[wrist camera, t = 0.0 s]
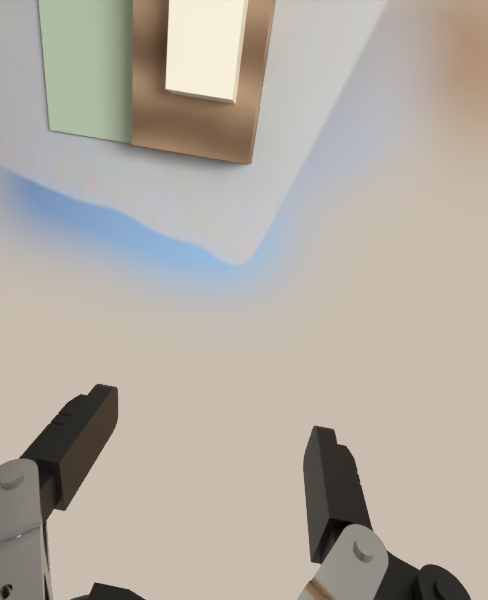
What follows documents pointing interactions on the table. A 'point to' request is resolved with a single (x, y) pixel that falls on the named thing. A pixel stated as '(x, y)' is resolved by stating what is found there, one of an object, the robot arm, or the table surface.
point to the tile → (205, 48)
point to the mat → (89, 66)
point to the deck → (189, 110)
